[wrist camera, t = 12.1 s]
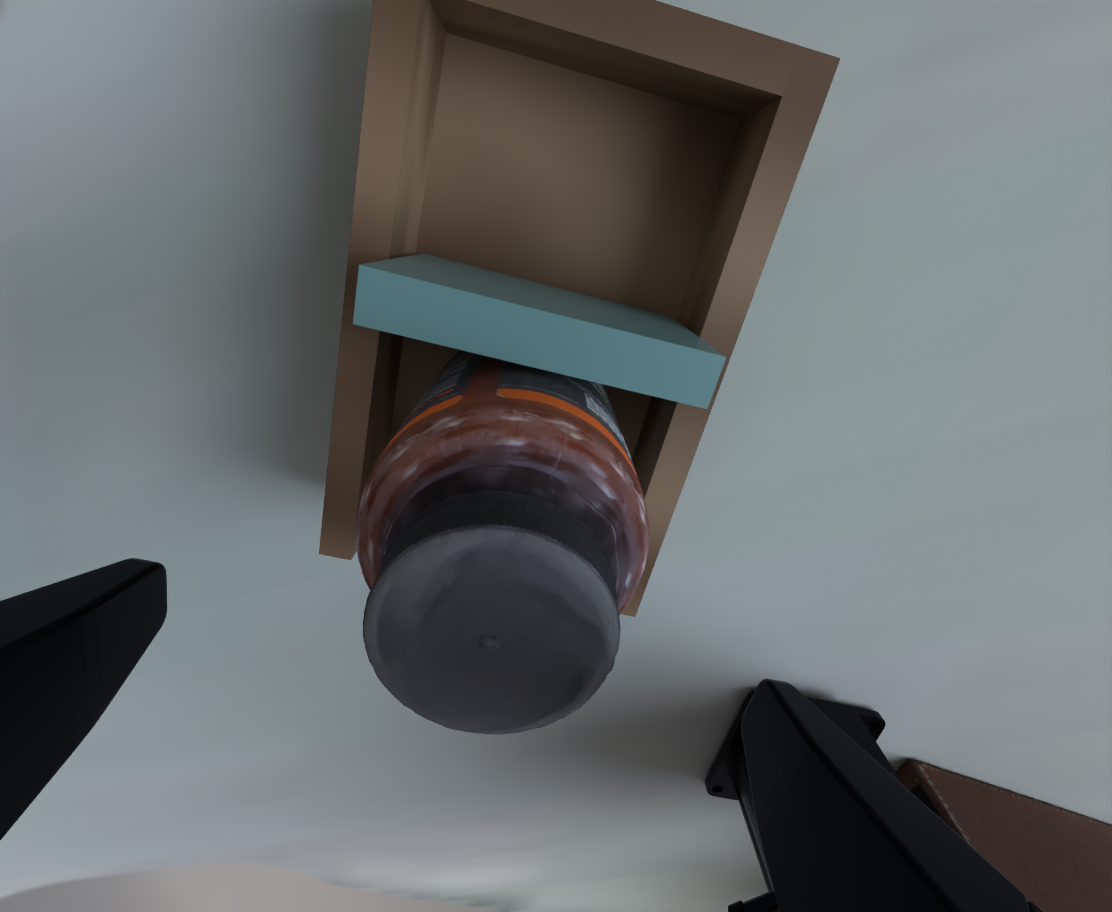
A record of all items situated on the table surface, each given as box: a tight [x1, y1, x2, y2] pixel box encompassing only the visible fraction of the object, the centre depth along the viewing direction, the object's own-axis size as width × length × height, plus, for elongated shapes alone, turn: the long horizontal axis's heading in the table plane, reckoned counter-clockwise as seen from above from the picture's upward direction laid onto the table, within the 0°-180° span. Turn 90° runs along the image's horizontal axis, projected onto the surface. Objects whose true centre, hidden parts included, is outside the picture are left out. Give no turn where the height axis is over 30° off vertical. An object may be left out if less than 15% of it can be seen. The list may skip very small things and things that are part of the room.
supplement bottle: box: [356, 350, 649, 734], centre depth 14 cm, size 6×6×11 cm
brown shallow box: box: [319, 0, 840, 617], centre depth 17 cm, size 16×10×4 cm, turn 166°
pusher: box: [353, 253, 726, 409], centre depth 14 cm, size 1×8×6 cm, turn 76°
